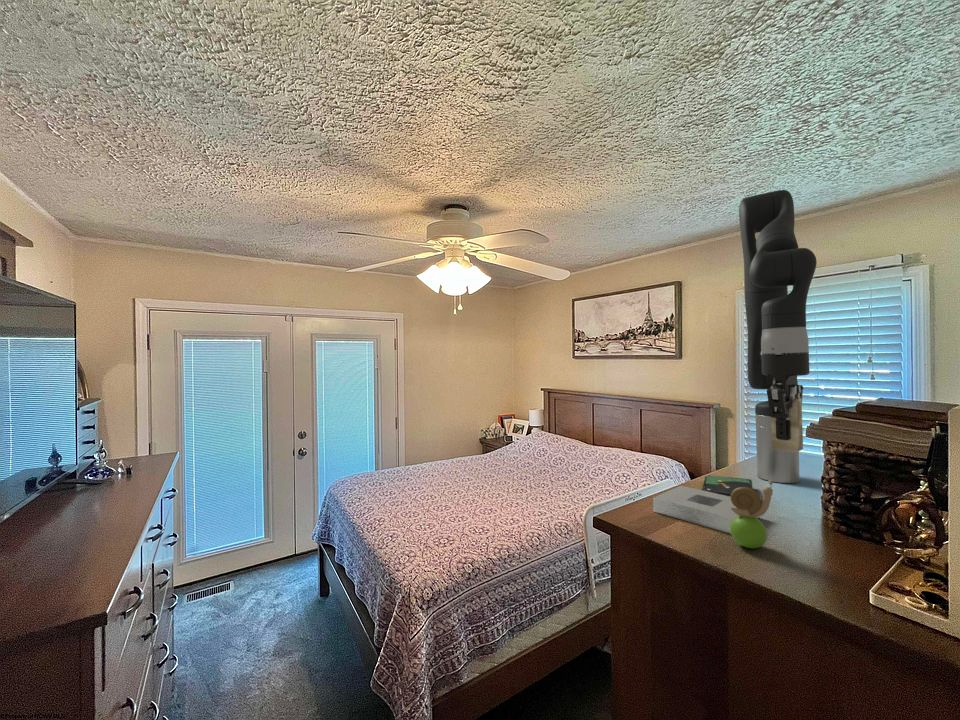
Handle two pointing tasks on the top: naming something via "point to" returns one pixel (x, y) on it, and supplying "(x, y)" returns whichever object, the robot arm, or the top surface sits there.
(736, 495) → the snail figurine
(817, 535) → the top surface
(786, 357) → the robot arm
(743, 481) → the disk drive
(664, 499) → the white flat block
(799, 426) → the birch peg
